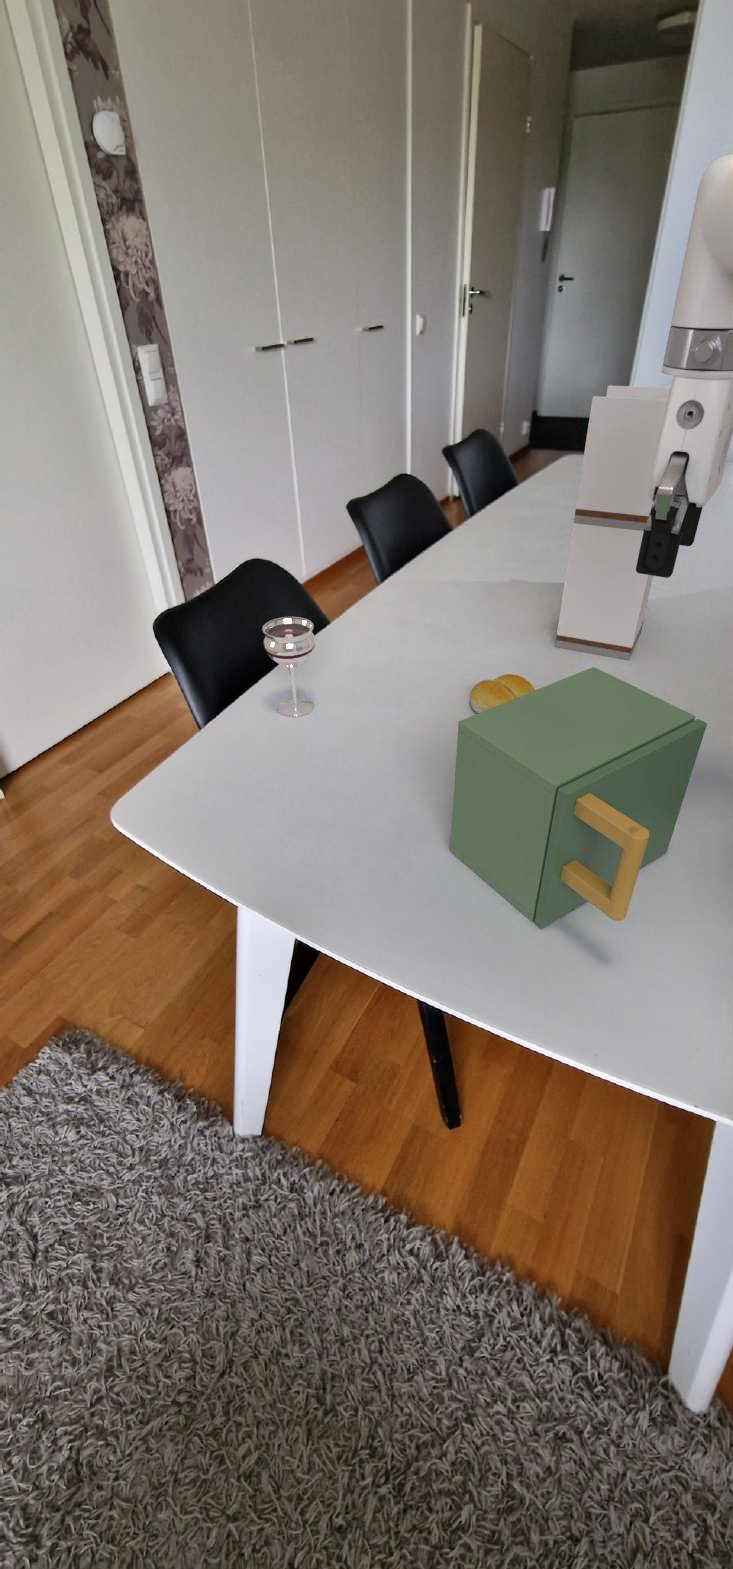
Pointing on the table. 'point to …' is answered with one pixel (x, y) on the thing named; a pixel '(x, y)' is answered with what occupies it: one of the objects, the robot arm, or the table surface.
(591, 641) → the tall white column
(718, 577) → the table surface
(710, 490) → the robot arm
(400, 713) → the table surface
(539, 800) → the cupboard
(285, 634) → the wineglass
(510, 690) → the bread roll
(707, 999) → the table surface
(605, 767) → the cupboard door
